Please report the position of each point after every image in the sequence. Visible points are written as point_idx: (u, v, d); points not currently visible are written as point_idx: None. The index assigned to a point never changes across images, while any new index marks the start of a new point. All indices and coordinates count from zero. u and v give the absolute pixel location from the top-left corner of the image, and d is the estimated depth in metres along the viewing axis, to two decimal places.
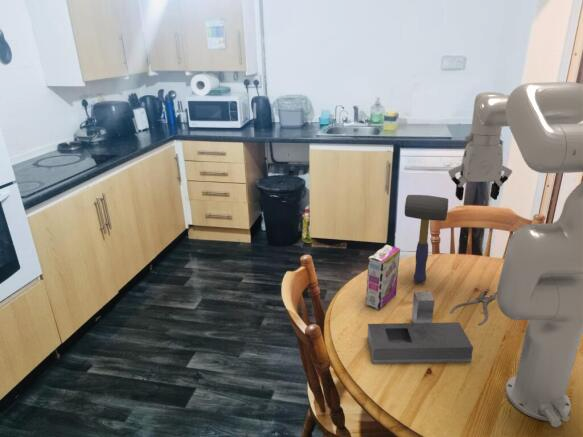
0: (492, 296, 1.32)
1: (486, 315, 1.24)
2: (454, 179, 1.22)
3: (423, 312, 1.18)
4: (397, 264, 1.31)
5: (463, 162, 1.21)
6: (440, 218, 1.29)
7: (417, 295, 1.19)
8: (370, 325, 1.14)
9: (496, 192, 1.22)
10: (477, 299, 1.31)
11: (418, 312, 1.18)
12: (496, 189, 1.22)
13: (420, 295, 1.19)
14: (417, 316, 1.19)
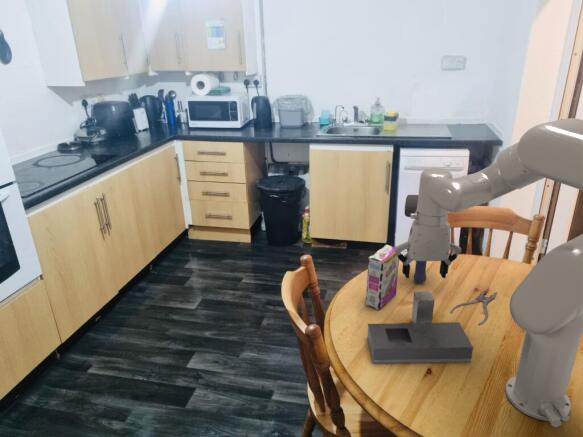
0: (492, 296, 1.32)
1: (486, 315, 1.24)
2: (400, 257, 1.13)
3: (423, 312, 1.18)
4: (397, 264, 1.31)
5: (409, 240, 1.12)
6: None
7: (417, 295, 1.19)
8: (370, 325, 1.14)
9: (444, 271, 1.14)
10: (477, 299, 1.31)
11: (418, 312, 1.18)
12: (445, 268, 1.14)
13: (420, 295, 1.19)
14: (417, 316, 1.19)
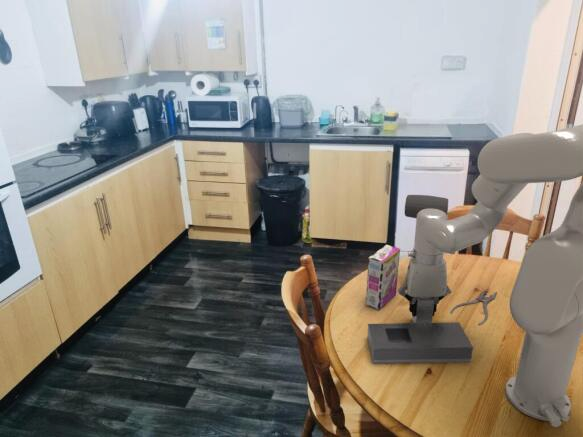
0: (492, 296, 1.32)
1: (486, 315, 1.24)
2: (406, 296, 1.18)
3: (423, 312, 1.18)
4: (397, 264, 1.31)
5: (407, 276, 1.16)
6: None
7: None
8: (370, 325, 1.14)
9: (433, 309, 1.18)
10: (477, 299, 1.31)
11: (418, 312, 1.18)
12: None
13: None
14: (417, 316, 1.19)
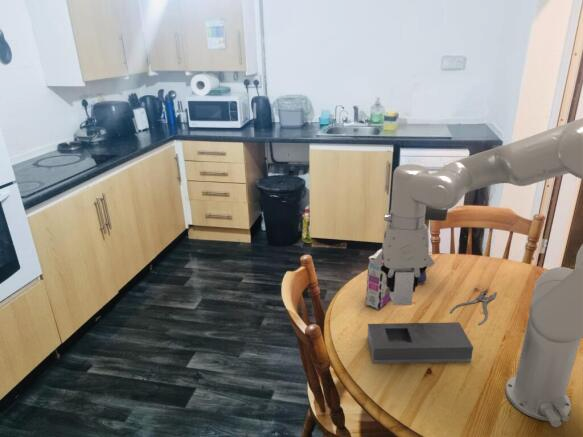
0: (492, 296, 1.32)
1: (486, 315, 1.24)
2: (383, 268, 1.02)
3: (401, 286, 1.02)
4: None
5: (383, 244, 1.01)
6: (440, 218, 1.29)
7: None
8: (370, 325, 1.14)
9: (413, 284, 1.03)
10: (477, 299, 1.31)
11: (396, 286, 1.02)
12: None
13: None
14: (395, 291, 1.03)
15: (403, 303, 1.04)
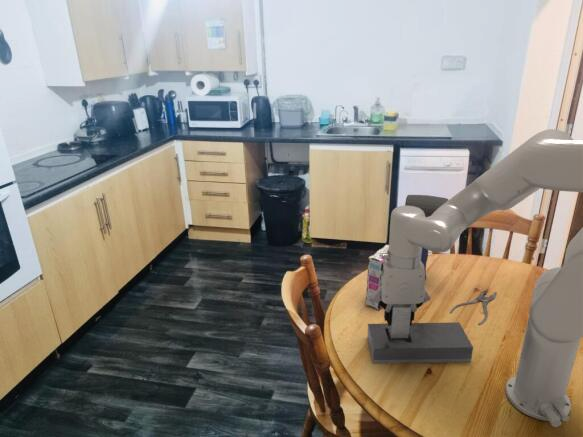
0: (492, 296, 1.32)
1: (486, 315, 1.24)
2: (381, 303, 1.06)
3: (399, 321, 1.06)
4: None
5: (381, 281, 1.04)
6: None
7: None
8: (370, 325, 1.14)
9: (410, 318, 1.07)
10: (477, 299, 1.31)
11: (393, 320, 1.06)
12: None
13: None
14: (392, 325, 1.07)
15: (400, 336, 1.08)
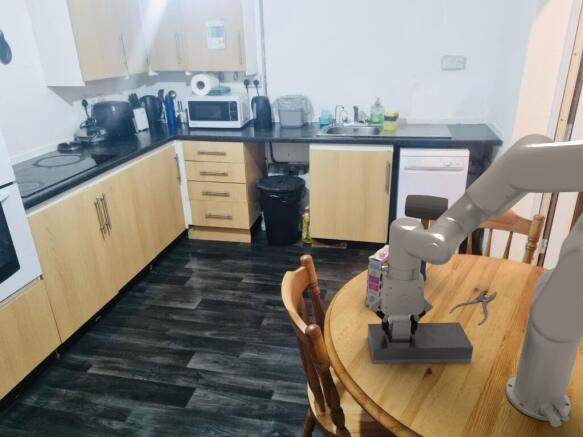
0: (492, 296, 1.32)
1: (486, 315, 1.24)
2: (377, 313, 1.07)
3: (399, 335, 1.08)
4: None
5: (381, 292, 1.05)
6: None
7: (392, 316, 1.09)
8: (370, 325, 1.14)
9: (413, 327, 1.07)
10: (477, 299, 1.31)
11: (394, 335, 1.08)
12: (413, 324, 1.07)
13: (396, 316, 1.08)
14: (393, 340, 1.08)
15: None
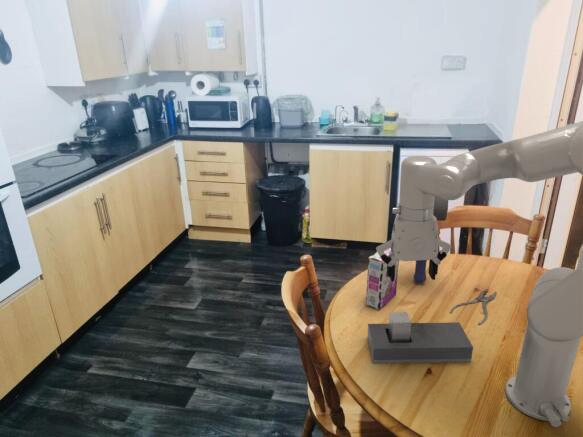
0: (491, 296, 1.32)
1: (485, 315, 1.24)
2: (383, 257, 1.01)
3: (399, 335, 1.08)
4: (397, 264, 1.31)
5: (392, 237, 1.00)
6: (440, 218, 1.29)
7: (392, 316, 1.09)
8: (370, 325, 1.14)
9: (434, 271, 1.02)
10: (476, 299, 1.31)
11: (394, 335, 1.08)
12: (433, 268, 1.02)
13: (396, 316, 1.08)
14: (393, 340, 1.08)
15: None
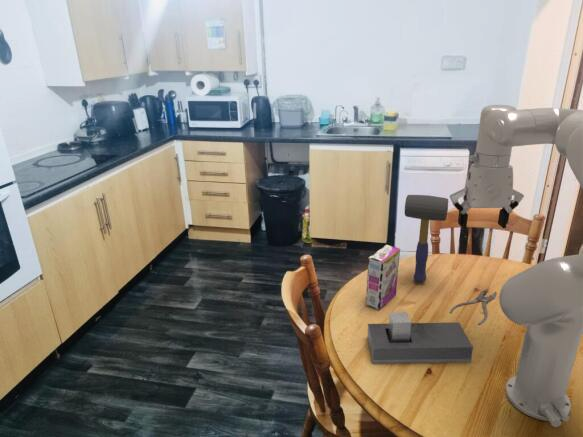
0: (491, 296, 1.32)
1: (485, 315, 1.24)
2: (456, 205, 1.05)
3: (399, 335, 1.08)
4: (397, 264, 1.31)
5: (467, 185, 1.04)
6: (440, 218, 1.29)
7: (392, 316, 1.09)
8: (370, 325, 1.14)
9: (505, 220, 1.06)
10: (476, 299, 1.31)
11: (394, 335, 1.08)
12: (505, 216, 1.05)
13: (396, 316, 1.08)
14: (393, 340, 1.08)
15: None
